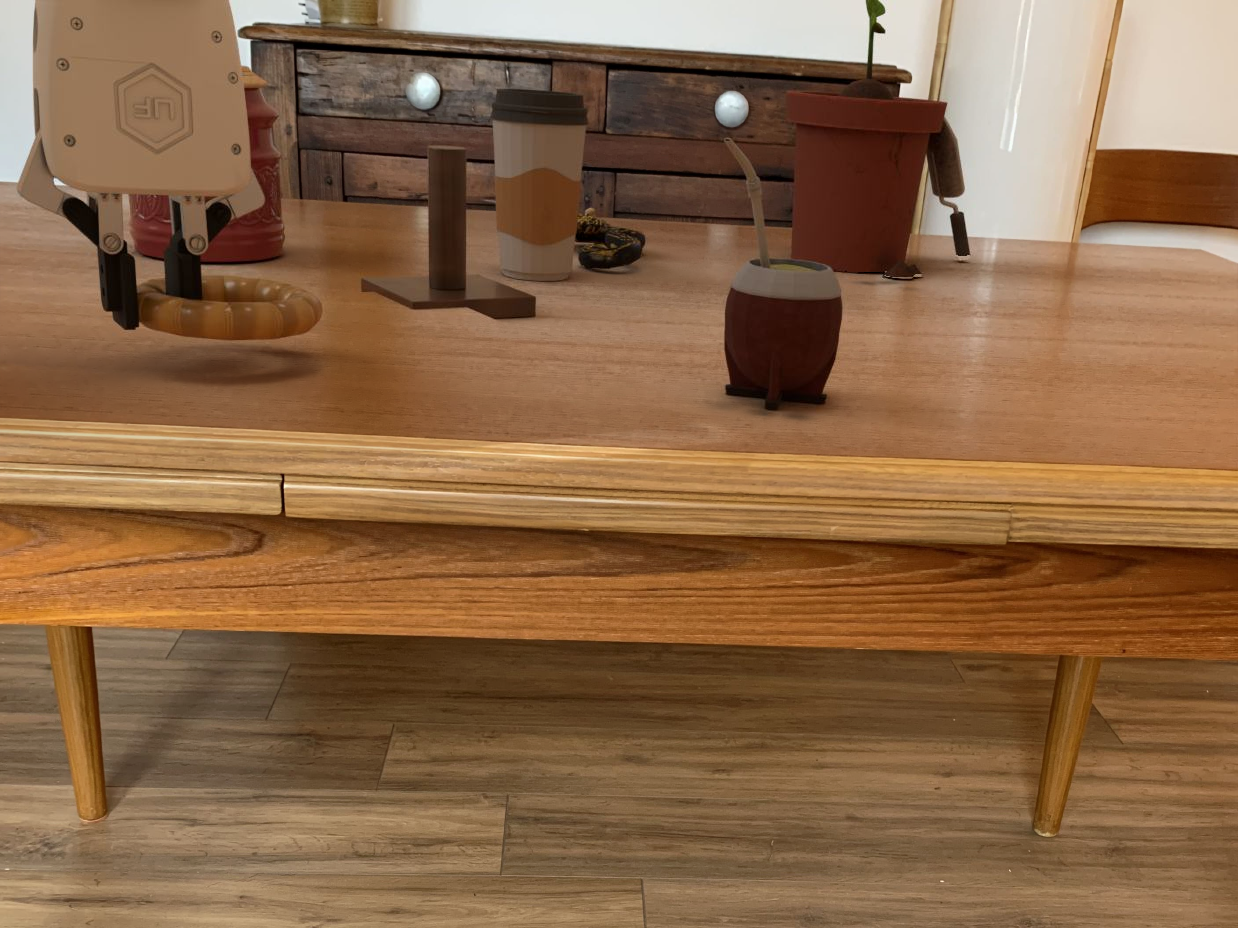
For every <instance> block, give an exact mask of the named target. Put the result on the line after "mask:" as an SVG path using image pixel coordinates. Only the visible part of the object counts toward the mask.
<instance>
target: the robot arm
mask: <svg viewBox="0 0 1238 928" xmlns="http://www.w3.org/2000/svg"><path fill="white" fill-rule="evenodd" d="M241 65H242V63H241V55H240V49H239V41H238V37H237V31H236V26H235V21H234V15H233V11H232V7H231V2H230V0H34V11H33V28H32V101H33V126H34V139H33V141H32V145H31V148H30V150H29V153H28V156H27V158H26V161H25V163H24V165H23V168H22V170H21V174H20V176H19V178H18V181H17V185H16V191H17V193H18V195H19V196H20V197H21V198H23V199H24V200H25V201H27V202H29V203H31V204H33V205H35V206H37V207H40V208H42V209H44V210H46V211H49V212H51V213H53V214H55V215H58V216H60V217H62V218H65V219H66V220H67V221H68V222H69V223H70V224H71V225H72V226H74V227H75V228H76V229H77V230H78V231H79V232H80V233H81V234H82V235H83V236H85V237H86V238H87V239H88V240H89V241H90V242H91V243H92V244H93V245H94V246H95V247H96V250H97V251H96V252H97V264H98V277H99V290H100V291H99V292H100V302H101V306H102V310H103V311H104V312H106V313H109V312H110V313H112V319H113V321H114V322H115V323H116V324H117V325H118V326H119V327H121V328H122V329H123V330H124V331H135V330H136V328H139V327H140V322H139V313H138V298H137V269H136V260H135V257H134V256H133V255H132V254H131V253H129V252H128V242H127V241H126V240H125V239H124V212H123V211H124V209H123V208H124V207H123V206H124V205H123V195H128V194H141V195H169V204H170V215H171V226H172V237H171V238H170V247H168V246H166V249H167V250H164V259H163V266H164V268H163V269H164V278H165V285H166V295H170V296H175V297H180V298H184V299H192V300H203V298H202V277H201V276H202V262H201V256H200V255H201V254H203V253H205V252H206V250H207V248H208V244H209V243H210V242H211V241H212V240H213V239H214V238H215V237H216V236H217V235H218V233H219V232H220V231H221V230H222V229H223V228H224V227H225V226H226V225H227V224H228V223H229V222H230V221H231V220H233V219H235V218H239V217H241V216H243V215H246V214H248V213H250V212H252V211H254V210H256V209H259V208H260V207H262V206H263V205H264V203H265V197H264V194H263V192H262V190H261V187H260V185H259V183H258V181H257V179H256V177H255V174H254V172H253V170H252V168H251V158H250V141H249V129H248V119H247V109H246V101H245V91H244V84H243V76H242V68H241ZM54 179H56V180H58V181H59V182H60V183H62V184H63V185H65V186H67V187H69V188H70V189H71V188H72V189H75V190H77V191H81V192H86V202H85V201H84V200H82V199H80V198H79V197H77V196H75V195H73V194H71V193H69V192H66V191H65V190H62V189H60V188H58V187H57V186H56V184H55V180H54ZM204 196H218V197H216V198H214V199H209V200H206V201H205V198H204Z"/></svg>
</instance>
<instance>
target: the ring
mask: <svg viewBox="0 0 1238 928" xmlns="http://www.w3.org/2000/svg"><path fill="white" fill-rule="evenodd" d="M201 277H202V298H203V300H192V299H184V298H180V297H175V296H170V295H166V285H165V277H157V278H150V279H147V280H145V281H143V282H142V283H139V284H138V285H137V298H138V313H139V324H141V325H142V326H143V327H145V328H147V329H149V330H152V331H157V332H161V333H166V334H170V335H173V336H178V337H183V338H192V339H193V338H194V339H207V340H216V341H217V340H218V341H266V340H267V341H268V340H269V341H271V340H272V341H273V340H277V339H283V338H289V337H294V336H300V335H304V334H307V333H308V332H310V331H311V330H312V329H313V328H314V327H315V326H316V325H317V324H318V323H319V322H320V320H321V319H322V315H323V304H322V302H321V301H320V299H319V298H318V297H317V296H316V295H315V294H313V293H312V292H309V291H308V290H306V289H304V288H302V287H300V286H299V285H295V284H290V283H285V282H280V281H275V280H271V279H265V278H255V277H243V276H231V275H201Z"/></svg>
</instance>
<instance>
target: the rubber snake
mask: <svg viewBox="0 0 1238 928" xmlns="http://www.w3.org/2000/svg"><path fill="white" fill-rule="evenodd" d="M575 243H580V244H587V245H583V246H582V247H581V248H580V249H579V251H578V254H577V255H578V256H577V259H578V262H579V264H580V266H582V267H584V268H585V269H598V270H610V269H613V268H619V267H624V266H630V265H631V264H633V263H635V262H637V261H639V260H640V259H641V258H642V256H643V249H644V247H645V245H646V235H645V234H644V232H642V231H640V230H635V229H630V228H627V227H619V226H612V225H611V224H610V223H607V222H606V220H604V219H603V218H598V217H596V209H595V208H594V207H589V208H587V209H586V210H585V211H584V214H583V213H580V212H578V222H577V232H576V234H575Z"/></svg>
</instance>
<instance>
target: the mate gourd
mask: <svg viewBox="0 0 1238 928" xmlns="http://www.w3.org/2000/svg"><path fill="white" fill-rule="evenodd" d="M723 141H724V144H725V145H726V147H727V148H728V149H729V151H730V152H731V153H732V156H734V158H735V159H736V160H737V162H738V164H739V165H740V167H741V169H742V171H743V173H744V175H745V178H746V181H745V185H746V189H747V196H748V198H750V201H751V205H752V206H751V208H752V214H753V215H752V216H753V221H754V229H755V236H756V243H757V250H758V251H757V252H758V258H752V259H751V258H750V259H748V260H747V261H745V262H744V264H743V265H742V266H741V268H740V269H739V271H738V272H737V273H736V274H735V276H734V277H733V279H732V280H731V283H730V289H729V291H728V294H727V297H726V302H725V308H724V333H723V335H724V337H723V338H724V340H723V341H724V342H723V345H724V347H723V349H724V356H725V362H726V367H727V371H728V378H729V383H727V384H725V385H724V388H725V394H726V395H730V396H739V397H740V396H741V397H751V398H759V399H764V400H765V402H764V409H765V410H773V411H774V410H775V411H777V410H778V409H779V407H780V405H781V403H782V401H787V402H797V403H810V404H819V405H825V404H826V401H827V397H828V394H827V393H823V392H824V389H825V387H826V384H827V382H828V379H829V378H830V375H831V373H832V370H833V367H834V365H835V362H836V358H837V353H838V347H839V343H840V332H841V326H842V321H843V299H842V287H841V284H840V282H839V280H838V277H837V275H836V274H835V271H833V270H832V269H831V268H830V267H829V266H826V265H824V264H820V263H816V262H810V261H803V260H794V259H791V258H781V257H779V258H778V257H777V258H776V257H770V255H769V254H770V253H769V248H768V240H767V234H766V225H765V218H764V209H763V202H762V195H763V188H762V186H761V185H762V183H761V179H760V177H759V176H757V173H756V170H755V169H754V167H753V165H752V163H751V161H750V160H749V158H748V157H747V156H746V155H745V153H744V152H743V151H742V150H741V149H740V148H739V146H738V145H737V144H736V143H735V142H734V141H733V139H731V138H730V137H729V136H727V137H725V138H723Z"/></svg>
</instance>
